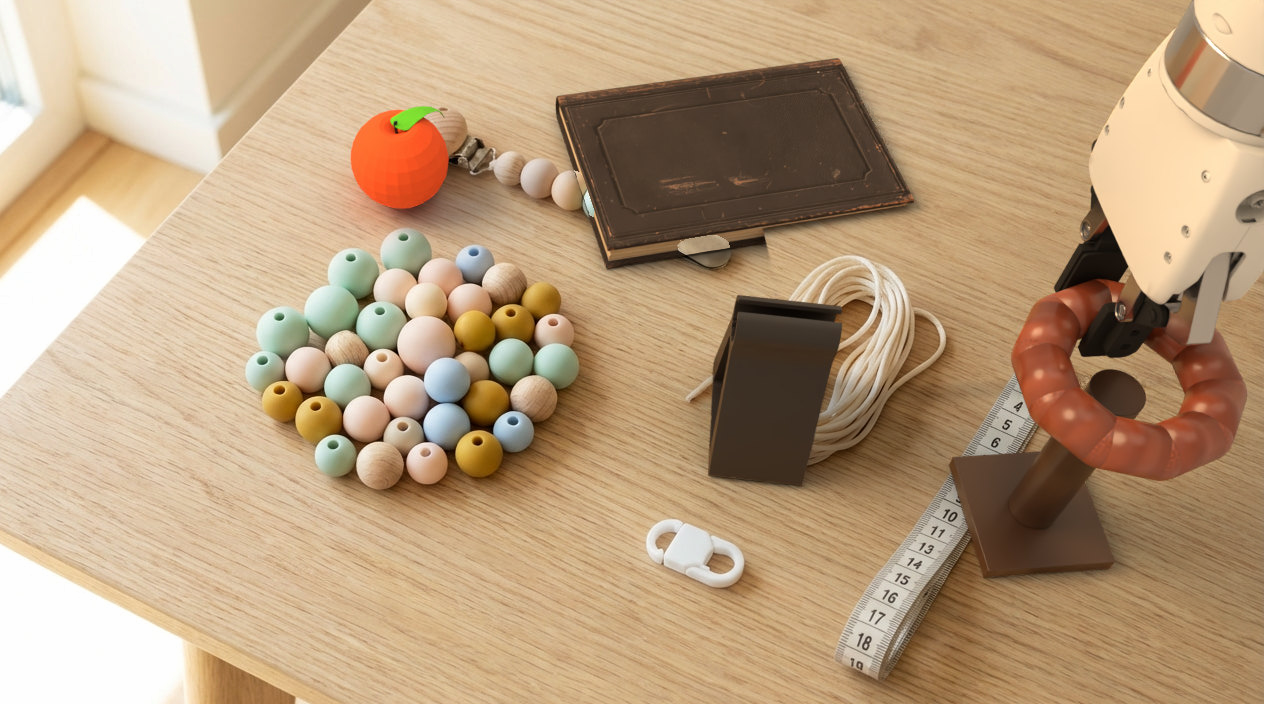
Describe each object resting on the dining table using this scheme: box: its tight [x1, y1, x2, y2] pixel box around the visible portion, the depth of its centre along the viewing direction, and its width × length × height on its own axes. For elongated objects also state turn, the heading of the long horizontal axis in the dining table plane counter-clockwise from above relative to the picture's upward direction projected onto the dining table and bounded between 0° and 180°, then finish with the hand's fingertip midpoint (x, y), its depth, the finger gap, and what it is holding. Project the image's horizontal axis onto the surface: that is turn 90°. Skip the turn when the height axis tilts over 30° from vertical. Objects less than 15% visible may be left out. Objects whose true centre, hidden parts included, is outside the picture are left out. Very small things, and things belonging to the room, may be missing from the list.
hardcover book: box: [555, 57, 915, 270], centre depth 92 cm, size 16×23×2 cm
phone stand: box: [707, 294, 843, 487], centre depth 75 cm, size 9×6×12 cm, turn 174°
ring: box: [1010, 279, 1248, 482], centre depth 64 cm, size 12×12×3 cm
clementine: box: [350, 105, 450, 210], centre depth 87 cm, size 8×7×7 cm
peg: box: [948, 368, 1147, 579], centre depth 71 cm, size 8×8×14 cm
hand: (1093, 319), depth 67 cm, fingers closed on ring, 3 cm apart
